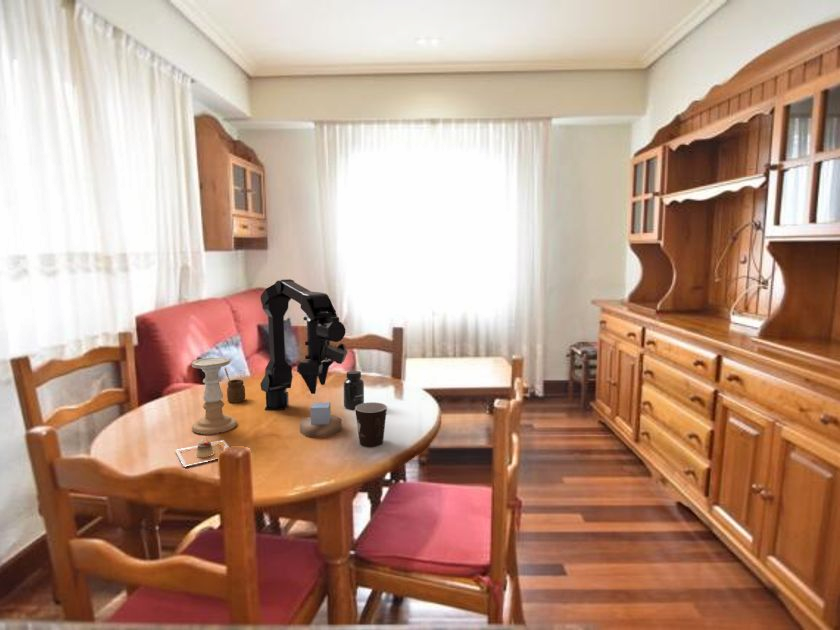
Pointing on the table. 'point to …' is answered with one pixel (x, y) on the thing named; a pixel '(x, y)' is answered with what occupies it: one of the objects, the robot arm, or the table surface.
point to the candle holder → (213, 398)
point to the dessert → (200, 451)
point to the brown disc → (321, 427)
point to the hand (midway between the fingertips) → (318, 389)
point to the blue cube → (320, 413)
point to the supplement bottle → (353, 390)
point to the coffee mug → (371, 423)
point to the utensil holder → (235, 390)
